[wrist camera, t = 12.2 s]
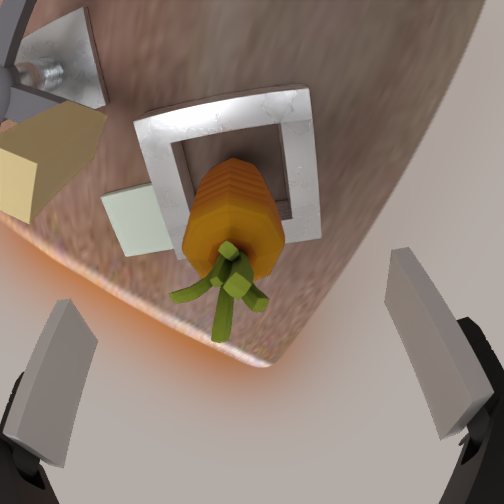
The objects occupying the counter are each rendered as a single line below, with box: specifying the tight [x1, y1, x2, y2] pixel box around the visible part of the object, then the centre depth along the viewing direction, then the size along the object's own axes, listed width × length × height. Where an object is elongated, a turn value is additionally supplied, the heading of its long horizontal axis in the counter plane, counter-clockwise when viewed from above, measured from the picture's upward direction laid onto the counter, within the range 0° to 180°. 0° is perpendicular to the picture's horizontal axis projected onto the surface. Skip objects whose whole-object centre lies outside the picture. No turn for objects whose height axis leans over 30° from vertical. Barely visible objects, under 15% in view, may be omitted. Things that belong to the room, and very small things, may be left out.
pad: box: [101, 183, 174, 257], centre depth 26 cm, size 6×6×1 cm
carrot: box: [169, 158, 285, 343], centre depth 17 cm, size 5×5×15 cm
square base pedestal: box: [14, 7, 110, 109], centre depth 15 cm, size 8×8×7 cm
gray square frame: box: [133, 83, 321, 260], centre depth 22 cm, size 11×11×3 cm
